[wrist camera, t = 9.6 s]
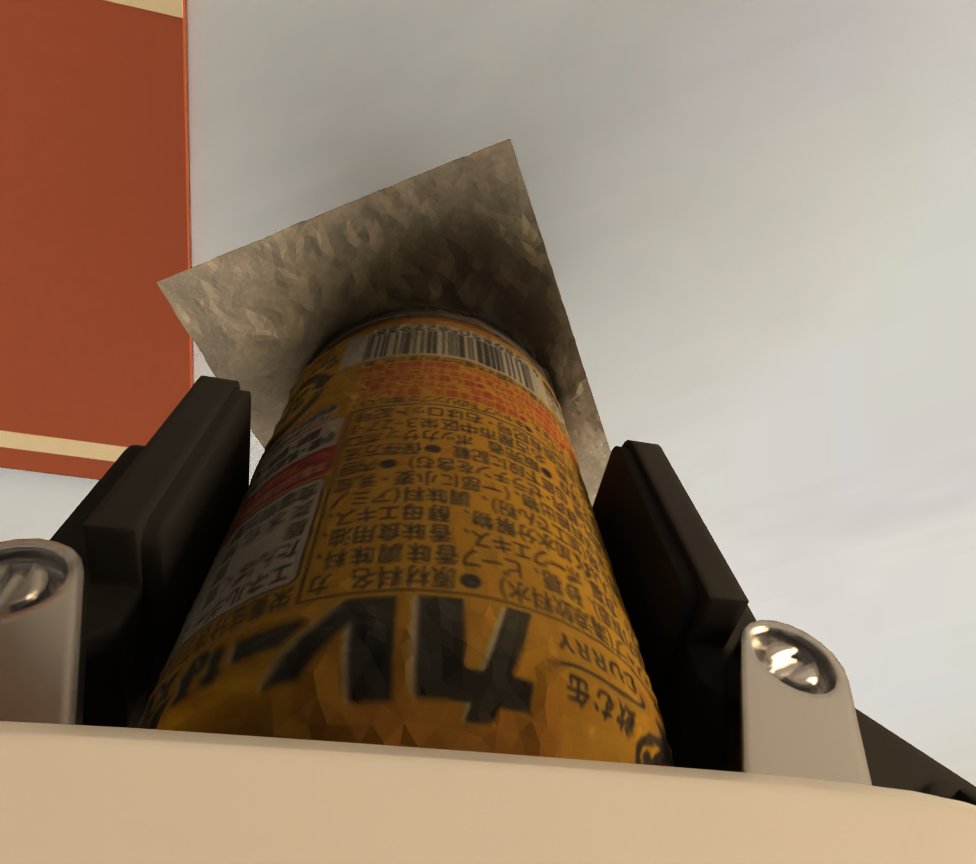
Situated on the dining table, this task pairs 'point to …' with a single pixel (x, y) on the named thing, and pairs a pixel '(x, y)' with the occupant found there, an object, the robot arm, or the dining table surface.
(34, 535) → the dining table surface
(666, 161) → the dining table surface
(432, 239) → the condiment
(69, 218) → the tea towel
